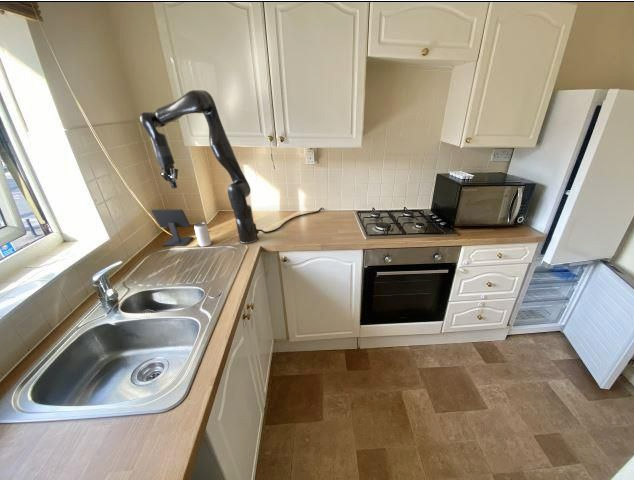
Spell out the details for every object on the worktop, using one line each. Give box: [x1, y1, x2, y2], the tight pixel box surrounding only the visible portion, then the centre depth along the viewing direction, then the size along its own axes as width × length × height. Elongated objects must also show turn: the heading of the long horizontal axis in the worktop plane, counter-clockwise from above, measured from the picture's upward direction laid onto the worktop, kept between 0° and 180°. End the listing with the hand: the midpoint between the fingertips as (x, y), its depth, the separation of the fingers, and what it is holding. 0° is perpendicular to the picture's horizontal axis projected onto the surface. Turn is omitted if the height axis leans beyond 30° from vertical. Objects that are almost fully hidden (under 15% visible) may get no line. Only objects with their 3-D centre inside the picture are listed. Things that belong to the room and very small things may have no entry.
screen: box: [150, 208, 191, 228], centre depth 152 cm, size 1×16×11 cm, turn 92°
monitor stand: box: [162, 222, 194, 247], centre depth 156 cm, size 10×12×12 cm
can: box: [193, 221, 212, 248], centre depth 154 cm, size 6×6×12 cm
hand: (174, 188), depth 155 cm, fingers closed
